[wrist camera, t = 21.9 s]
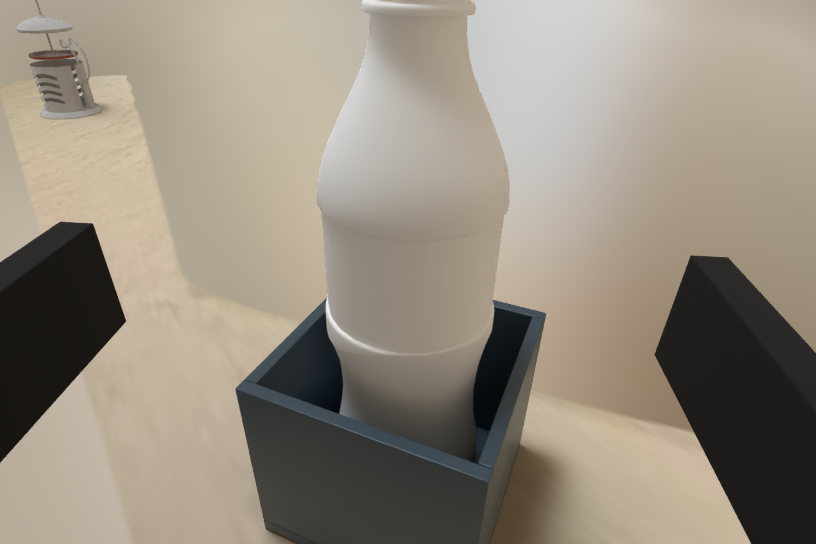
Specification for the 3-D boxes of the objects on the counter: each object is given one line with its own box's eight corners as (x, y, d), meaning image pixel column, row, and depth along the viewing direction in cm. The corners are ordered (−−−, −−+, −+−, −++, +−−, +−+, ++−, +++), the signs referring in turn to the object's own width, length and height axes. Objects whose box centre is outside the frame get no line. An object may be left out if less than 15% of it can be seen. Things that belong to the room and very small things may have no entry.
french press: (77, 102, 97) (28, -54, 84) (122, 109, 93) (78, -53, 80) (26, 114, 89) (-36, -56, 76) (73, 123, 85) (16, -54, 72)
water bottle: (396, 405, 32) (402, -72, 19) (495, 466, 28) (588, -74, 15) (311, 482, 27) (240, -86, 14) (417, 568, 24) (454, -95, 10)
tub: (465, 623, 22) (489, 482, 17) (265, 528, 26) (234, 388, 21) (519, 443, 31) (546, 312, 26) (362, 390, 34) (358, 265, 29)
